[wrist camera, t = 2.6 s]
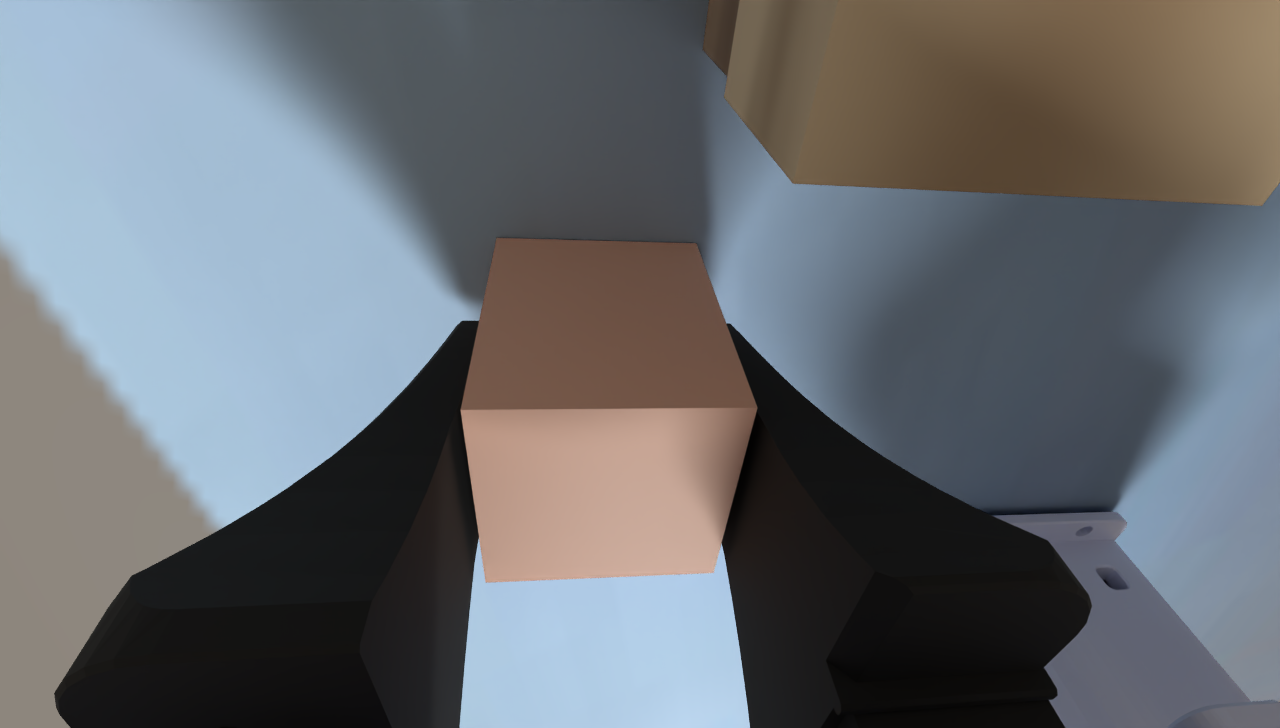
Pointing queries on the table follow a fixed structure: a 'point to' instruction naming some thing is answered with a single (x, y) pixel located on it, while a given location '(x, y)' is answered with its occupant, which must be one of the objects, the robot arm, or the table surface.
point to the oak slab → (1016, 95)
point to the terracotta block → (602, 412)
